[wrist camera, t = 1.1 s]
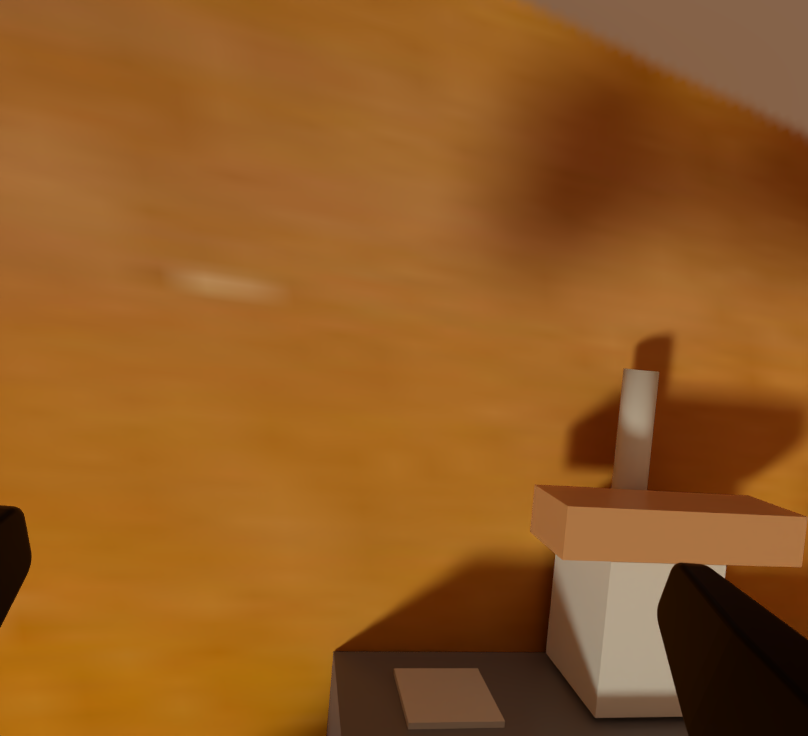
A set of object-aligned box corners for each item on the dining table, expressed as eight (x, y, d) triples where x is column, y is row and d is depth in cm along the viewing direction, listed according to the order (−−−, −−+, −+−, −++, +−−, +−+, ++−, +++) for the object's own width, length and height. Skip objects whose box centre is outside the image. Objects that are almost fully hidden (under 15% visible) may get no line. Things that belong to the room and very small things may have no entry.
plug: (642, 653, 24) (709, 716, 20) (545, 652, 23) (595, 717, 19) (672, 372, 23) (747, 380, 19) (574, 363, 23) (631, 370, 19)
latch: (743, 539, 22) (801, 567, 19) (530, 531, 20) (562, 560, 18) (748, 495, 22) (807, 516, 19) (534, 484, 20) (567, 506, 18)
